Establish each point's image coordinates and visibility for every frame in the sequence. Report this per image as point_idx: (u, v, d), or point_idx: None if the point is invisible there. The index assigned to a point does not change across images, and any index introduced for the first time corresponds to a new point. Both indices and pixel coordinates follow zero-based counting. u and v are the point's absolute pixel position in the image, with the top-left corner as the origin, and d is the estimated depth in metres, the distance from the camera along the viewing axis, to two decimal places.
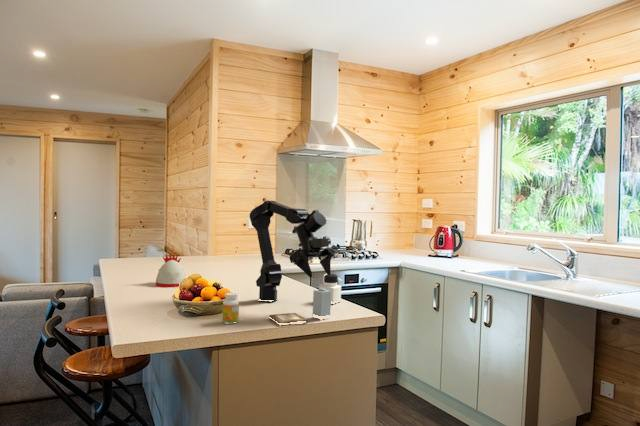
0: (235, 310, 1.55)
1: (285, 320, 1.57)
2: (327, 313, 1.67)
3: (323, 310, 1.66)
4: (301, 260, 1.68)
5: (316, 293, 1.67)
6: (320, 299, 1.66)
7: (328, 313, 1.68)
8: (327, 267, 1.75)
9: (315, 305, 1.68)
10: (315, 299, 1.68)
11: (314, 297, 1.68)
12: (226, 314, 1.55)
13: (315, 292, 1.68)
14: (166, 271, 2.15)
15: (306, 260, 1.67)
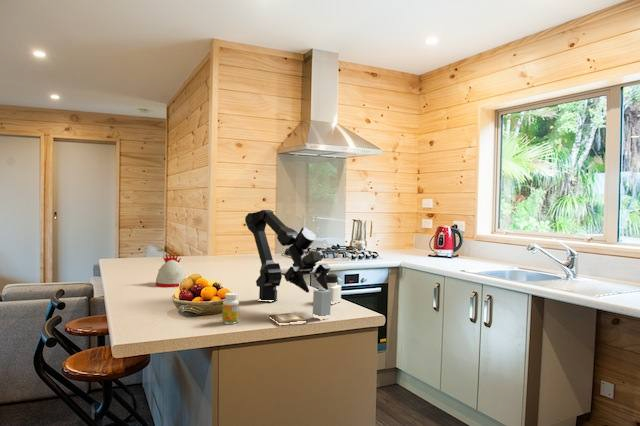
0: (235, 310, 1.55)
1: (285, 320, 1.57)
2: (327, 313, 1.67)
3: (323, 310, 1.66)
4: (296, 277, 1.68)
5: (316, 293, 1.67)
6: (320, 299, 1.66)
7: (328, 313, 1.68)
8: (324, 282, 1.74)
9: (315, 305, 1.68)
10: (315, 299, 1.68)
11: (314, 297, 1.68)
12: (226, 314, 1.55)
13: (315, 292, 1.68)
14: (166, 271, 2.15)
15: (301, 276, 1.68)
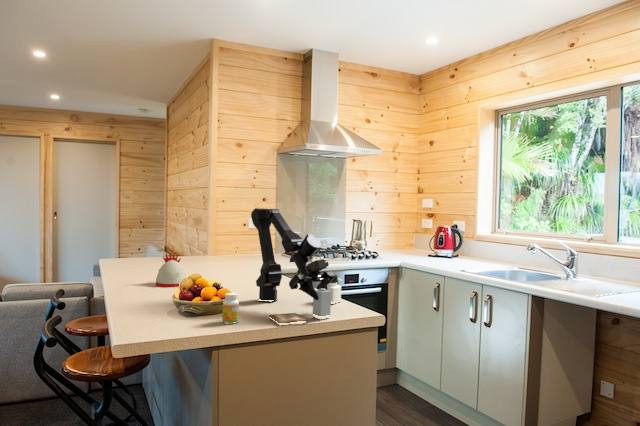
0: (235, 310, 1.55)
1: (285, 320, 1.57)
2: (327, 313, 1.67)
3: (323, 310, 1.66)
4: (305, 284, 1.68)
5: None
6: (320, 299, 1.66)
7: (328, 312, 1.68)
8: None
9: (315, 305, 1.67)
10: None
11: None
12: (226, 314, 1.55)
13: None
14: (166, 271, 2.15)
15: (310, 283, 1.67)
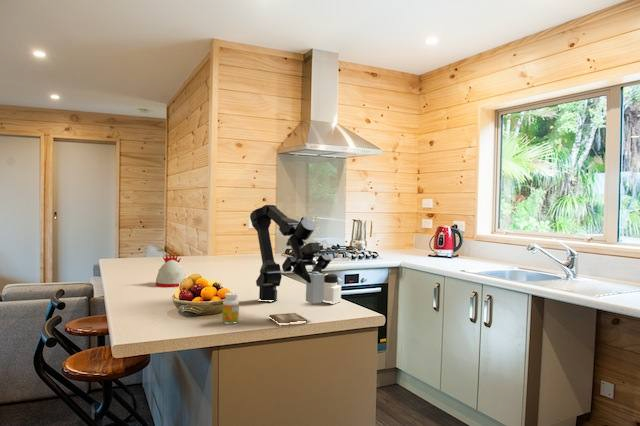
0: (235, 310, 1.55)
1: (285, 320, 1.57)
2: (320, 296, 1.65)
3: (315, 293, 1.64)
4: (298, 267, 1.66)
5: (309, 276, 1.65)
6: (312, 282, 1.63)
7: (321, 296, 1.65)
8: None
9: (308, 288, 1.65)
10: None
11: None
12: (226, 314, 1.55)
13: None
14: (166, 271, 2.15)
15: (303, 266, 1.66)
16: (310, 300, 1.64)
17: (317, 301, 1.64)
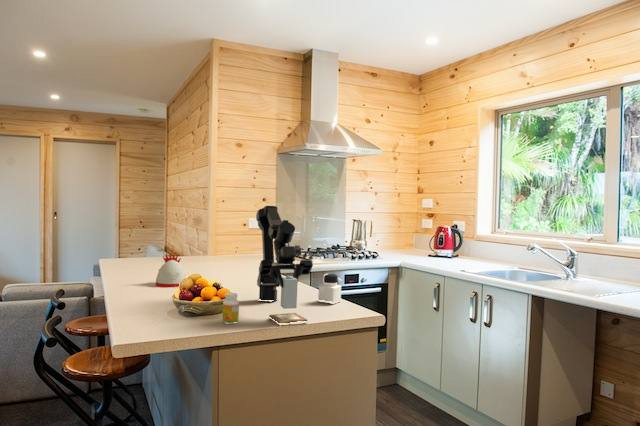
0: (235, 310, 1.55)
1: (285, 320, 1.57)
2: (292, 302, 1.60)
3: (286, 298, 1.59)
4: (273, 270, 1.63)
5: None
6: (284, 287, 1.59)
7: (294, 302, 1.60)
8: None
9: (282, 293, 1.62)
10: None
11: None
12: (226, 314, 1.55)
13: (282, 279, 1.62)
14: (166, 271, 2.15)
15: (277, 270, 1.62)
16: (282, 305, 1.60)
17: (288, 306, 1.59)
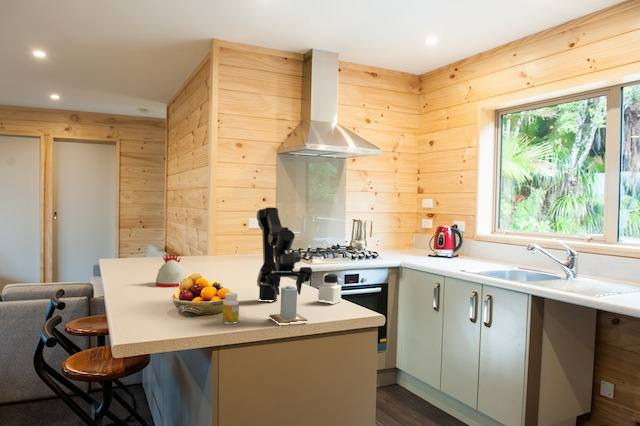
0: (235, 310, 1.55)
1: (285, 320, 1.57)
2: (292, 312, 1.60)
3: (286, 308, 1.59)
4: (270, 278, 1.63)
5: (282, 290, 1.61)
6: (283, 297, 1.59)
7: (294, 312, 1.60)
8: (298, 286, 1.64)
9: (281, 303, 1.62)
10: (281, 296, 1.62)
11: (281, 294, 1.62)
12: (226, 314, 1.55)
13: (282, 289, 1.62)
14: (166, 271, 2.15)
15: (273, 277, 1.62)
16: (282, 315, 1.60)
17: (288, 317, 1.59)
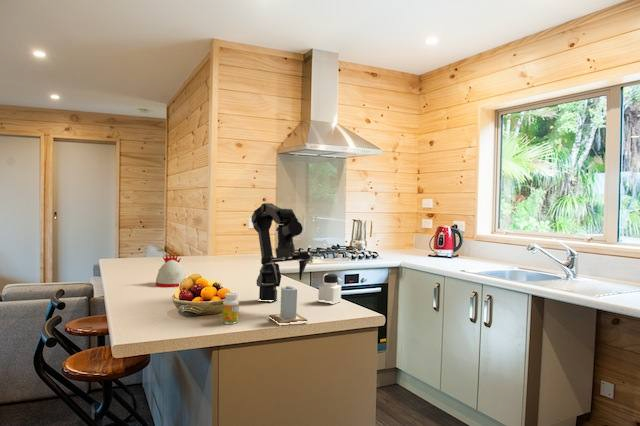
0: (235, 310, 1.55)
1: (285, 320, 1.57)
2: (292, 312, 1.60)
3: (286, 308, 1.59)
4: None
5: (282, 290, 1.61)
6: (283, 297, 1.59)
7: (294, 312, 1.60)
8: None
9: (281, 303, 1.62)
10: (281, 296, 1.62)
11: (281, 294, 1.62)
12: (226, 314, 1.55)
13: (282, 289, 1.62)
14: (166, 271, 2.15)
15: (270, 267, 1.75)
16: (282, 315, 1.60)
17: (288, 317, 1.59)
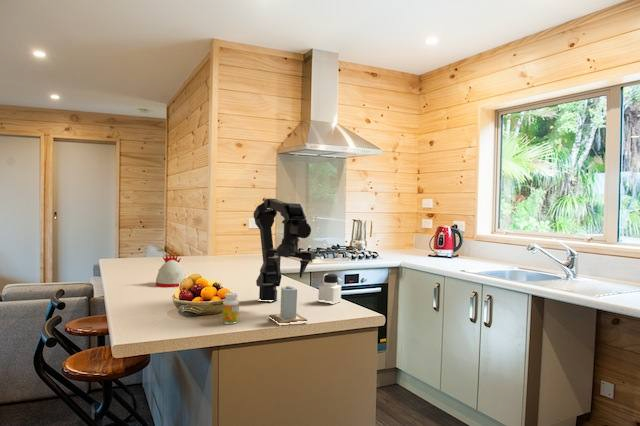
0: (235, 310, 1.55)
1: (285, 320, 1.57)
2: (292, 312, 1.60)
3: (286, 308, 1.59)
4: None
5: (282, 290, 1.61)
6: (283, 297, 1.59)
7: (294, 312, 1.60)
8: None
9: (281, 303, 1.62)
10: (281, 296, 1.62)
11: (281, 294, 1.62)
12: (226, 314, 1.55)
13: (282, 289, 1.62)
14: (166, 271, 2.15)
15: (273, 261, 1.78)
16: (282, 315, 1.60)
17: (288, 317, 1.59)
